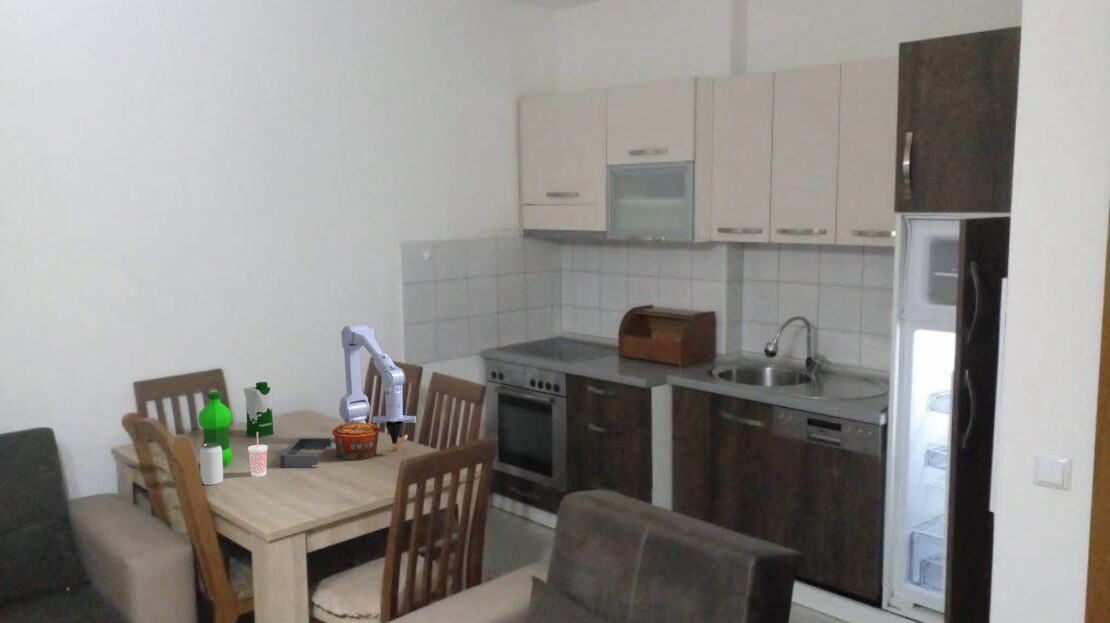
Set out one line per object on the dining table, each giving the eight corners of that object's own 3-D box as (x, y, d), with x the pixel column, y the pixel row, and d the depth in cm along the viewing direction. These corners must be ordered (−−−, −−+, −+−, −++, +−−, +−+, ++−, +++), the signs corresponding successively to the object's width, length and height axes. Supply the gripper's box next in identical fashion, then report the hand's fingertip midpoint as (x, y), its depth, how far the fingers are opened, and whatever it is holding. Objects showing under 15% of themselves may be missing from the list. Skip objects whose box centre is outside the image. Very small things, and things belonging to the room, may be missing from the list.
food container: (382, 463, 295) (382, 432, 294) (333, 466, 290) (333, 435, 289) (378, 450, 310) (377, 420, 309) (331, 453, 306) (331, 423, 304)
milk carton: (257, 438, 322) (255, 385, 320) (242, 434, 328) (240, 382, 325) (277, 433, 329) (275, 381, 327) (262, 429, 335) (260, 378, 332)
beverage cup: (248, 472, 283) (246, 430, 281) (267, 470, 285) (266, 428, 284) (249, 478, 277) (247, 435, 276) (269, 476, 280) (268, 433, 278)
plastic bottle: (205, 462, 293) (202, 389, 290) (237, 461, 294) (235, 389, 291) (196, 471, 283) (192, 396, 280) (229, 471, 284) (226, 396, 281)
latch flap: (405, 439, 305) (404, 437, 304) (388, 454, 305) (387, 451, 305) (407, 436, 310) (406, 434, 309) (391, 449, 310) (389, 447, 310)
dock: (297, 448, 310) (297, 437, 310) (331, 448, 311) (331, 437, 310) (280, 467, 289) (280, 455, 288) (317, 467, 289) (316, 455, 288)
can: (215, 486, 269) (214, 448, 268) (196, 484, 271) (195, 447, 269) (227, 479, 276) (226, 443, 274) (209, 478, 277) (207, 441, 275)
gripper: (370, 407, 294) (371, 446, 296) (413, 407, 295) (414, 446, 296) (374, 402, 301) (375, 440, 303) (416, 402, 302) (417, 440, 303)
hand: (394, 443), depth 300 cm, fingers closed
